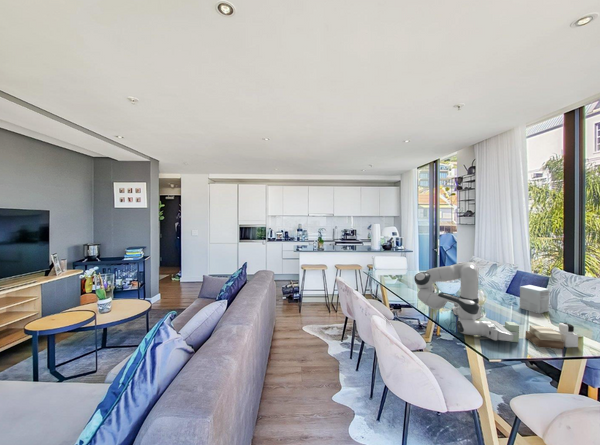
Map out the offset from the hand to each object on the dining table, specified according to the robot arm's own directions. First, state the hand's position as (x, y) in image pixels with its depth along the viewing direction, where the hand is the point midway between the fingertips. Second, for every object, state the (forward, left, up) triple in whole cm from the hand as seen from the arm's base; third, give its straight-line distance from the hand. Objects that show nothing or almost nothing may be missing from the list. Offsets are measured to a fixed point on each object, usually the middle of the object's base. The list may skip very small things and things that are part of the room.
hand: (513, 330), depth 159 cm
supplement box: (-60, +44, -6) cm, 75 cm away
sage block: (0, -1, -6) cm, 6 cm away
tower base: (0, +16, -6) cm, 17 cm away
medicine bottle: (-1, +27, -6) cm, 28 cm away
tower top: (0, +16, -2) cm, 16 cm away
